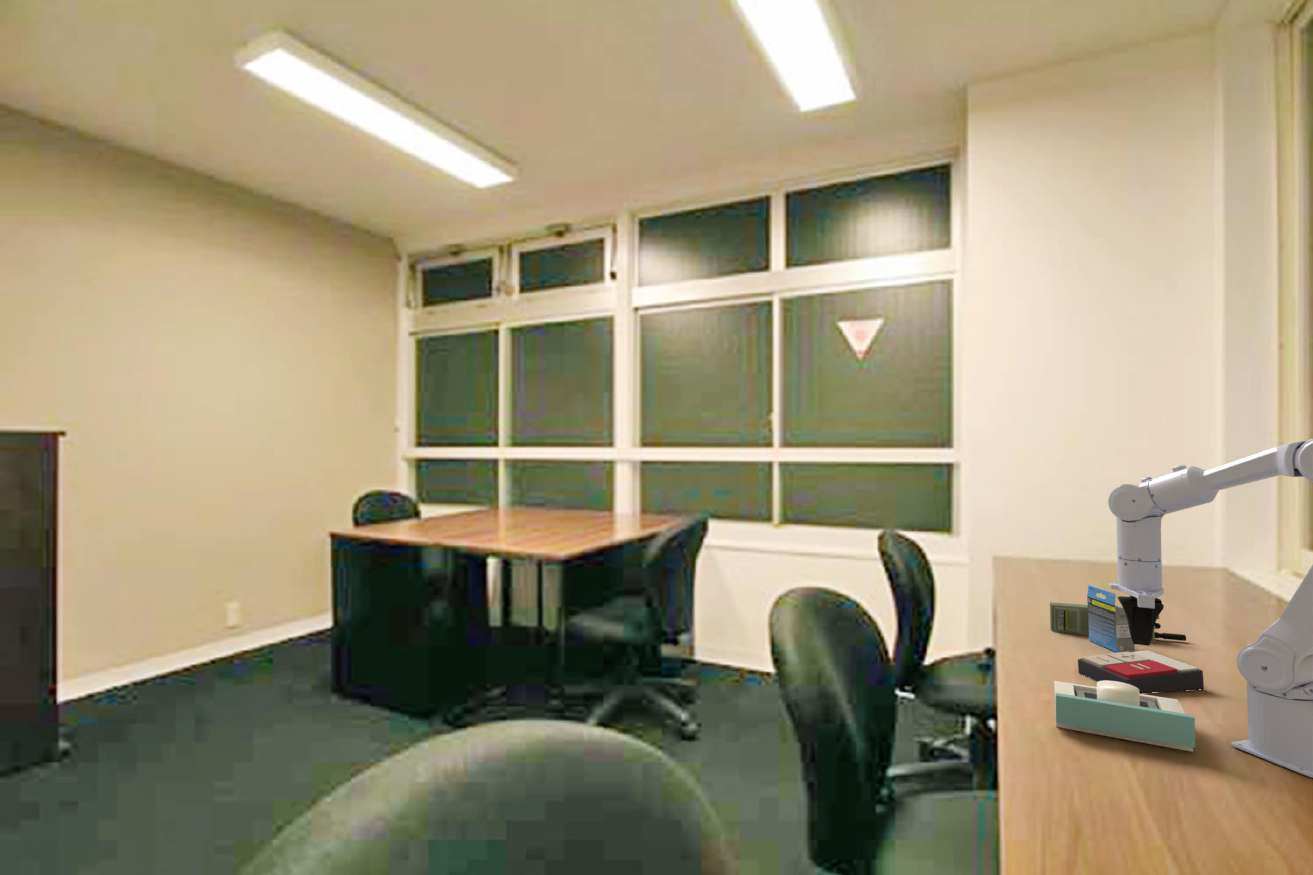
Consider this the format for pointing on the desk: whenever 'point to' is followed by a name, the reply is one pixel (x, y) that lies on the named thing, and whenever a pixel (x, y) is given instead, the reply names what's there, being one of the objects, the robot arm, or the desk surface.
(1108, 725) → the tray
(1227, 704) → the desk surface
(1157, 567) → the robot arm
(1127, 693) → the white dome-topped cylinder
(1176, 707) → the dock
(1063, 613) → the handheld radio
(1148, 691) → the calculator
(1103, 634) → the label tape box
